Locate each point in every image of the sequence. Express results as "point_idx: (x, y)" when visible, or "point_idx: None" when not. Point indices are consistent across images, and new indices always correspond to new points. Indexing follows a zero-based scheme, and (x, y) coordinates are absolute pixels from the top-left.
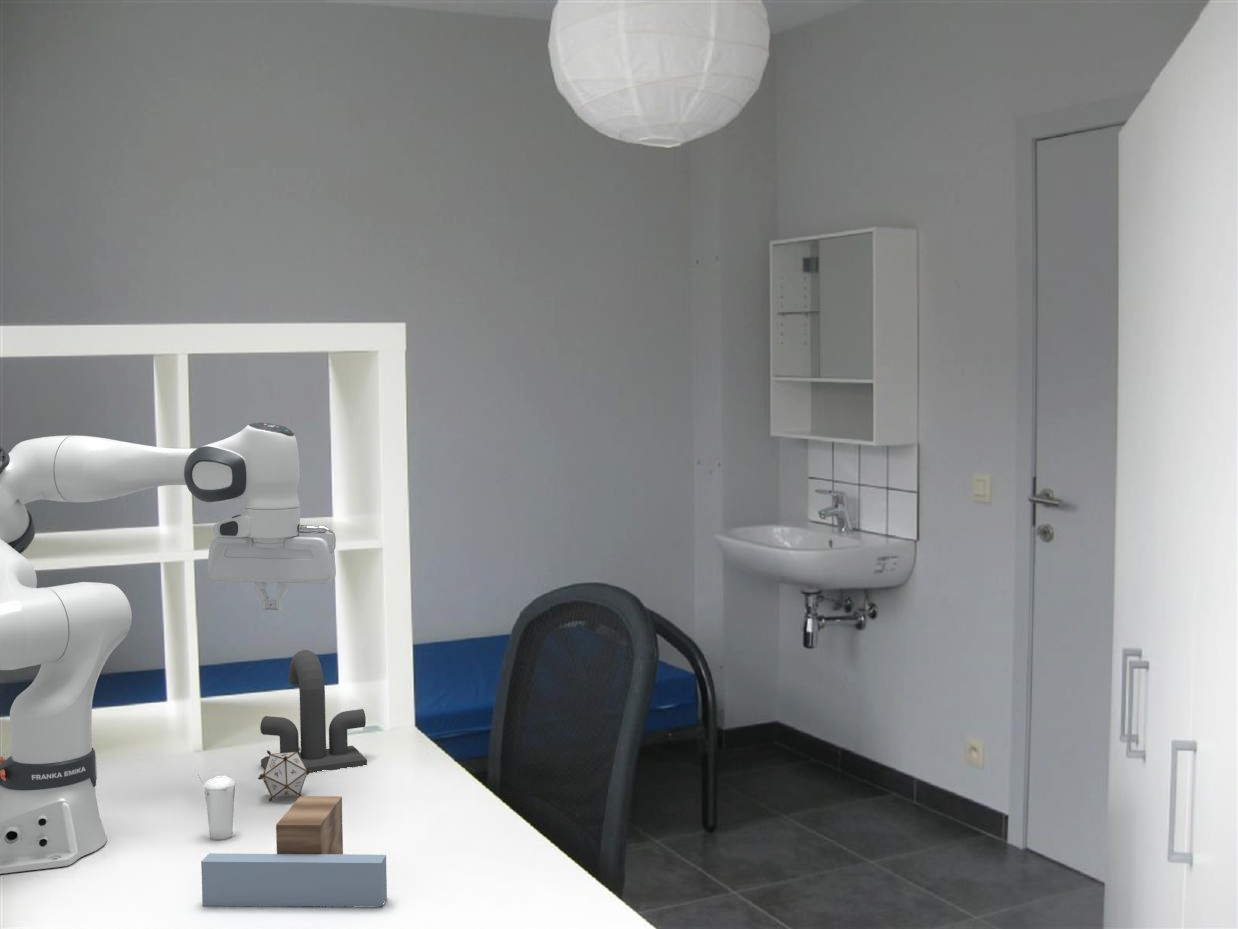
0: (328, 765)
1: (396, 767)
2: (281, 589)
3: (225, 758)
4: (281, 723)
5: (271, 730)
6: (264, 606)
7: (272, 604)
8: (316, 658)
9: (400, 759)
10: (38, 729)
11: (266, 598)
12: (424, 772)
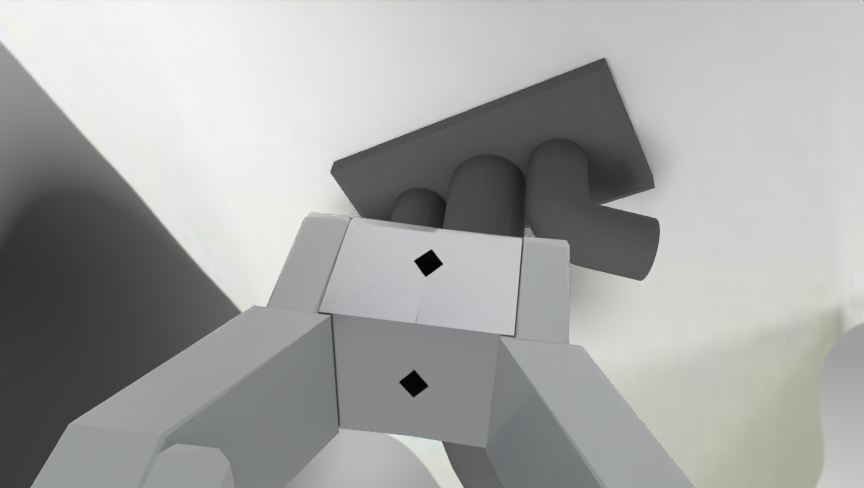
0: (432, 133)
1: (243, 142)
2: (147, 436)
3: (771, 243)
4: (580, 226)
5: (616, 212)
6: (528, 255)
7: (397, 265)
8: (455, 463)
9: (259, 205)
10: None
11: (496, 369)
12: (145, 96)
